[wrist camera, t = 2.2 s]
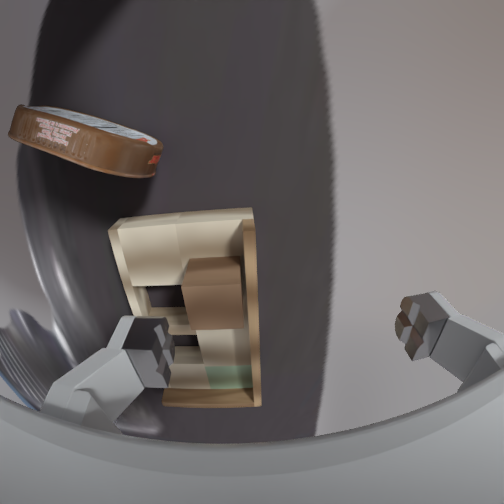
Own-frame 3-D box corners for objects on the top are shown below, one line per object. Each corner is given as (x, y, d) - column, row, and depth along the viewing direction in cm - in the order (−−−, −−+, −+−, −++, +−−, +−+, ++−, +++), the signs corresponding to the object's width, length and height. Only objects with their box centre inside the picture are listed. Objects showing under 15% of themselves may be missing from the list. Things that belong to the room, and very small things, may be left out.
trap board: (119, 218, 24) (95, 242, 20) (251, 207, 25) (255, 230, 20) (169, 375, 35) (163, 405, 31) (258, 374, 36) (261, 406, 31)
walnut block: (189, 258, 24) (181, 286, 20) (239, 255, 24) (240, 284, 20) (196, 298, 26) (191, 330, 22) (242, 296, 26) (244, 328, 22)
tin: (44, 127, 19) (-11, 139, 12) (53, 99, 18) (-3, 102, 11) (165, 170, 23) (132, 195, 15) (178, 138, 22) (148, 147, 14)
